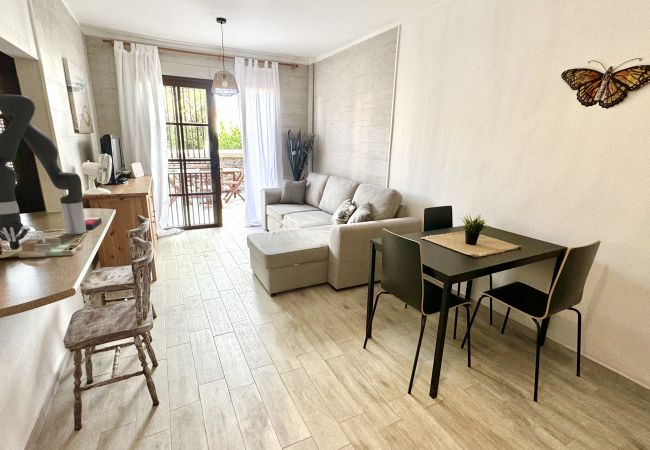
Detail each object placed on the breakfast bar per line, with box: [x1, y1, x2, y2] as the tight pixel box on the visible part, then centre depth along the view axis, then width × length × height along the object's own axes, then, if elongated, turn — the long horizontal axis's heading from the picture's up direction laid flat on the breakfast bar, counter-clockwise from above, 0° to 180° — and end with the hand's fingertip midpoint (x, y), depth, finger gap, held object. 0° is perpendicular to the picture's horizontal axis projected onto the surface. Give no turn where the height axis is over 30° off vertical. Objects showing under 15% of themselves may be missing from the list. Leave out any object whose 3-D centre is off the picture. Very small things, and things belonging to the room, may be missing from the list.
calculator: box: [85, 217, 103, 231], centre depth 191 cm, size 11×4×15 cm
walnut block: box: [20, 238, 44, 252], centre depth 145 cm, size 6×6×4 cm
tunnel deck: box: [17, 237, 84, 259], centre depth 148 cm, size 10×20×6 cm, turn 107°
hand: (15, 249), depth 144 cm, fingers closed
